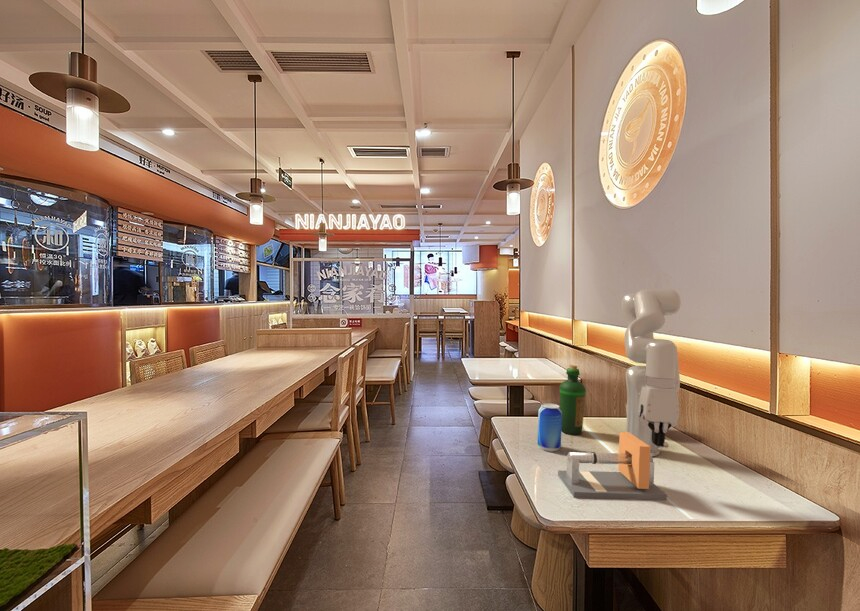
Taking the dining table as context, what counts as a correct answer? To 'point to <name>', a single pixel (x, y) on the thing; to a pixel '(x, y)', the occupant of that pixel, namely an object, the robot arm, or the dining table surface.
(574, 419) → the bottle
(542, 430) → the beer can
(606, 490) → the base board
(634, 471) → the collar
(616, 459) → the pipe
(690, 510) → the dining table surface
